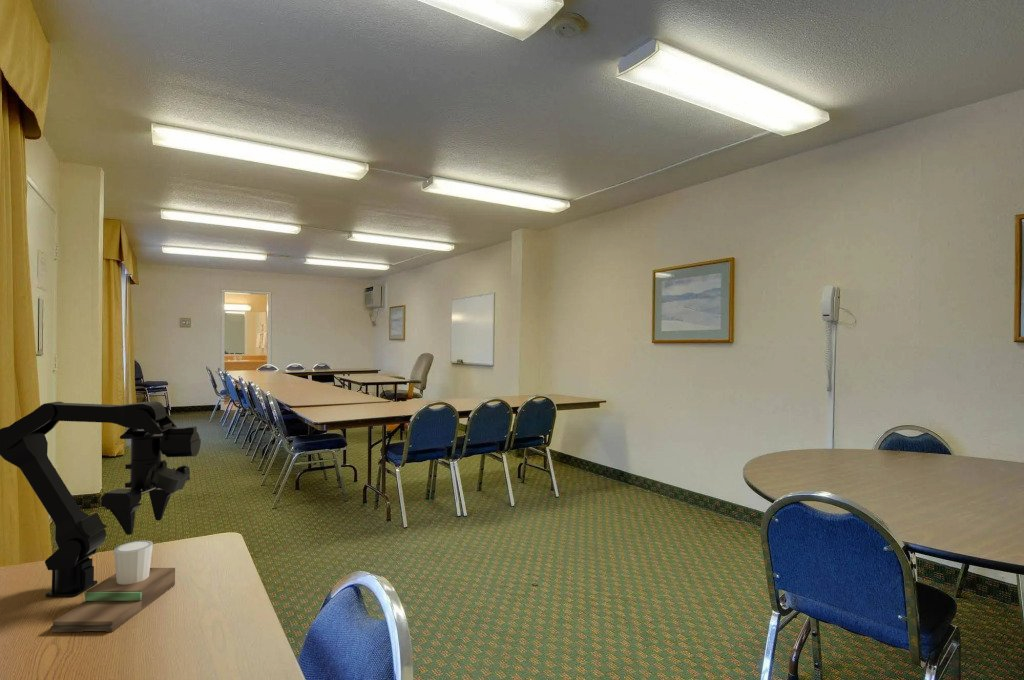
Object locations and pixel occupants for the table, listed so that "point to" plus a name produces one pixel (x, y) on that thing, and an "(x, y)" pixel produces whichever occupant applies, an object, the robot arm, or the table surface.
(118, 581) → the white tapered cup
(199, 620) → the table surface
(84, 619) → the stepped riser
